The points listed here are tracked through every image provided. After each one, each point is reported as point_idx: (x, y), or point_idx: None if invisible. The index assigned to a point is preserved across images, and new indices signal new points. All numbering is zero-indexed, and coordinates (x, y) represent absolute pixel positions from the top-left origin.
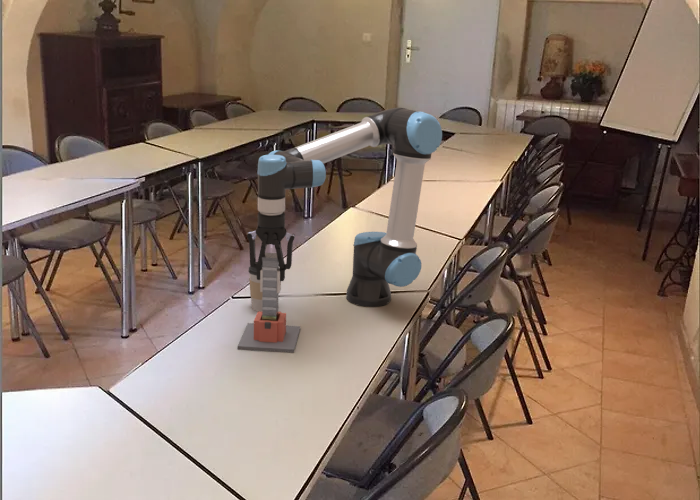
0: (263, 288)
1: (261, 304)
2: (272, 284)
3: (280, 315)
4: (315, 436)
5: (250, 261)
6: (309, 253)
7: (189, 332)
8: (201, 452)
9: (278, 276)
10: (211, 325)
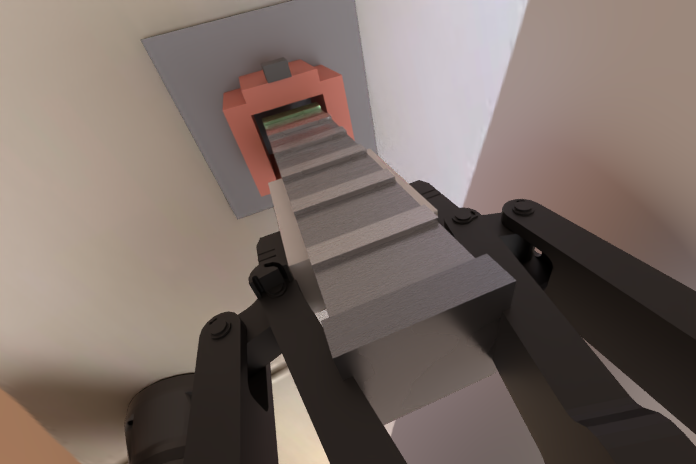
0: (357, 149)
1: None
2: (313, 182)
3: (269, 168)
4: None
5: (563, 222)
6: None
7: (507, 58)
8: None
9: (291, 236)
10: (462, 127)
